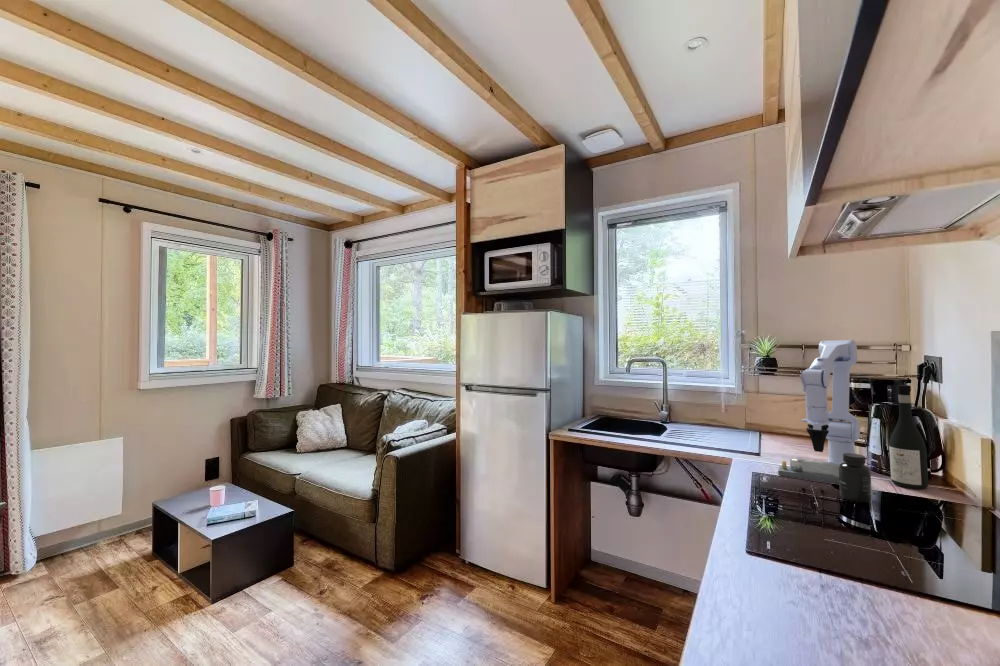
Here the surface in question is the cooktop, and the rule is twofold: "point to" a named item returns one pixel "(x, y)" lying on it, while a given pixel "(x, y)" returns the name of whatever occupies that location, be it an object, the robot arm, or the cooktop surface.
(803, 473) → the tool board
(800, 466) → the grey long block
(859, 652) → the cooktop surface
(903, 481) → the wine bottle
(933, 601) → the cooktop surface
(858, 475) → the supplement bottle
